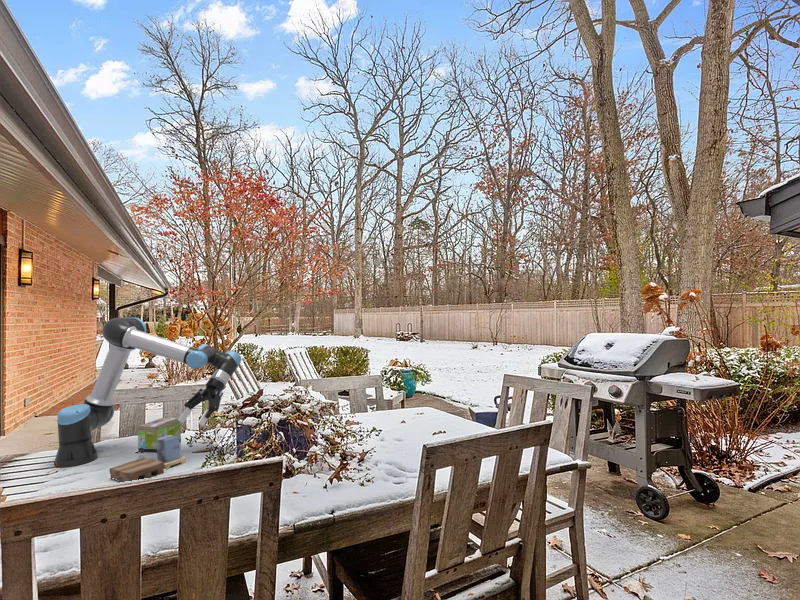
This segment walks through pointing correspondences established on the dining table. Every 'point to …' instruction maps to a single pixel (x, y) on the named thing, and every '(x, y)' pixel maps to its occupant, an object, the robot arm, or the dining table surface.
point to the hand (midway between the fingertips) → (190, 423)
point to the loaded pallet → (169, 451)
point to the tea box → (156, 435)
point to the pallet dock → (137, 469)
